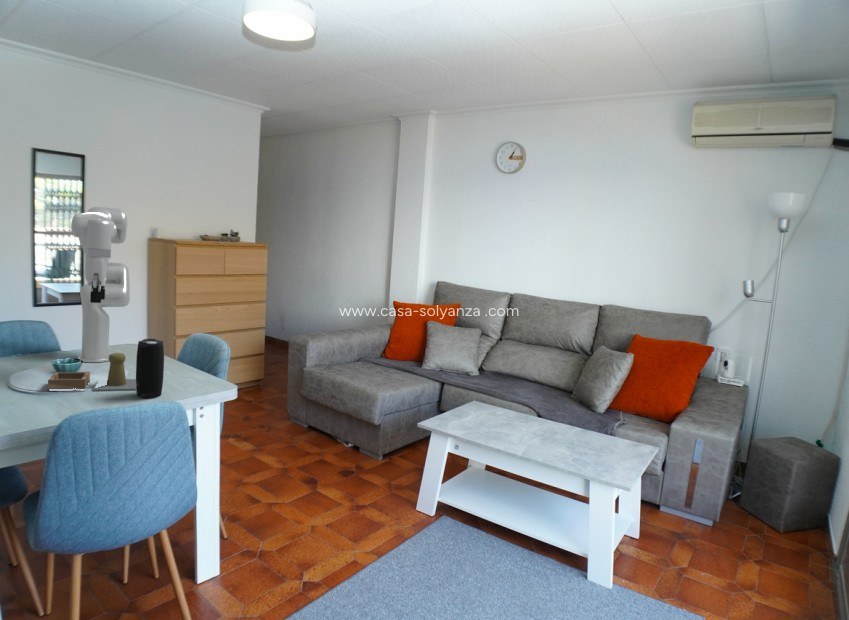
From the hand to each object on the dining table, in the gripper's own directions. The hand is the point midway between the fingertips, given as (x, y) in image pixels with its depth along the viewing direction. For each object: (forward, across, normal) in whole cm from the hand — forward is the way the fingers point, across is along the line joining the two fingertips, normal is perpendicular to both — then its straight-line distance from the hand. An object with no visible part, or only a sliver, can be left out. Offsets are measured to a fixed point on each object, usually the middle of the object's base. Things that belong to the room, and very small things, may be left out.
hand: (97, 300), depth 197 cm
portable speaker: (+28, +26, +19) cm, 43 cm away
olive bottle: (+28, +13, +8) cm, 32 cm away
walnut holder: (+28, +14, -6) cm, 32 cm away
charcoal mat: (+28, +13, +8) cm, 32 cm away
